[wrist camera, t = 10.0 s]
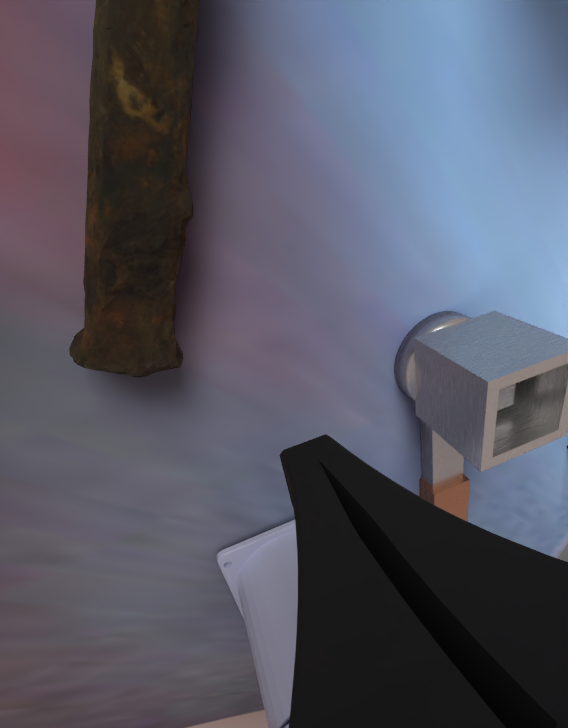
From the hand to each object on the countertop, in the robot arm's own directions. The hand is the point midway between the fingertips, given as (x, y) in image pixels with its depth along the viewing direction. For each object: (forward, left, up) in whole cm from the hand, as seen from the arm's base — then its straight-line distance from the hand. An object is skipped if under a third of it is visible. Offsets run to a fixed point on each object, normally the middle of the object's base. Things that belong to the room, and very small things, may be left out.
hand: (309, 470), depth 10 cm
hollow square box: (-5, -11, -8) cm, 14 cm away
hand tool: (+10, +1, -10) cm, 14 cm away
